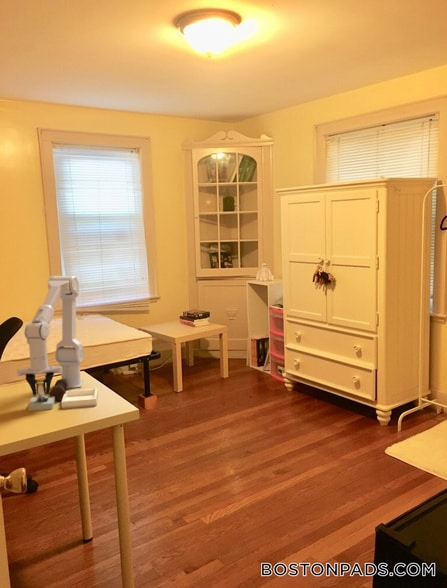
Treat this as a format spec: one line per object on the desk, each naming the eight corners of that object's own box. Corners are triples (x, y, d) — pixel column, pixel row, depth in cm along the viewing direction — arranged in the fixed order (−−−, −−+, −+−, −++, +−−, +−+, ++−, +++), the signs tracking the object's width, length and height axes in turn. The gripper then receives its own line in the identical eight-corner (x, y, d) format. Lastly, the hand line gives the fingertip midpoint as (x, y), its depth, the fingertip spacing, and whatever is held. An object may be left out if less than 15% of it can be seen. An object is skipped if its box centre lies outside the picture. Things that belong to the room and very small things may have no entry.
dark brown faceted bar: (64, 391, 192) (60, 403, 177) (52, 386, 191) (46, 398, 176) (71, 378, 192) (67, 389, 177) (59, 373, 191) (54, 383, 176)
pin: (37, 400, 174) (35, 378, 173) (48, 399, 175) (47, 377, 174) (35, 404, 170) (33, 382, 169) (47, 403, 171) (45, 381, 170)
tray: (65, 397, 180) (65, 391, 180) (97, 394, 183) (97, 388, 182) (61, 408, 169) (61, 401, 169) (96, 405, 172) (96, 398, 171)
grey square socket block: (32, 402, 176) (31, 397, 175) (55, 400, 177) (55, 395, 177) (28, 410, 168) (27, 405, 167) (52, 408, 169) (52, 403, 169)
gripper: (14, 360, 165) (17, 399, 167) (59, 357, 168) (61, 395, 169) (18, 355, 171) (21, 392, 173) (61, 352, 174) (63, 389, 176)
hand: (41, 393), depth 172 cm, fingers closed on pin, 4 cm apart
